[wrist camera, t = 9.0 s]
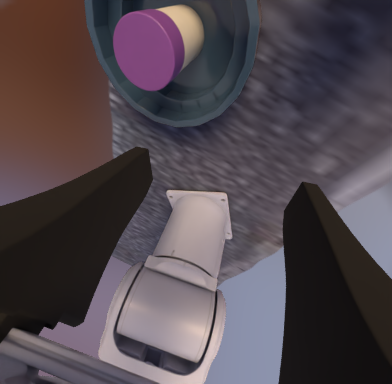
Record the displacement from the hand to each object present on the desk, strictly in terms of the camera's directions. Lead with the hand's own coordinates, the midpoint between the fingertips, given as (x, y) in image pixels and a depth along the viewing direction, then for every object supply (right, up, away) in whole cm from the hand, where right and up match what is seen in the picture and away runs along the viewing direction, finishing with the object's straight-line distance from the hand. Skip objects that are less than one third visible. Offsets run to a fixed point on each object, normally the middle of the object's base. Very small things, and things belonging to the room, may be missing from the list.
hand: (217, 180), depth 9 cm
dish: (-2, +10, +4) cm, 11 cm away
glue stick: (-2, +10, +4) cm, 11 cm away
